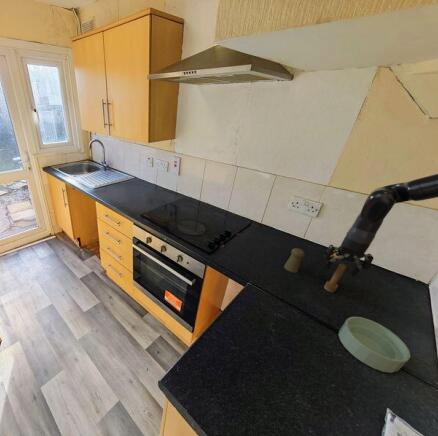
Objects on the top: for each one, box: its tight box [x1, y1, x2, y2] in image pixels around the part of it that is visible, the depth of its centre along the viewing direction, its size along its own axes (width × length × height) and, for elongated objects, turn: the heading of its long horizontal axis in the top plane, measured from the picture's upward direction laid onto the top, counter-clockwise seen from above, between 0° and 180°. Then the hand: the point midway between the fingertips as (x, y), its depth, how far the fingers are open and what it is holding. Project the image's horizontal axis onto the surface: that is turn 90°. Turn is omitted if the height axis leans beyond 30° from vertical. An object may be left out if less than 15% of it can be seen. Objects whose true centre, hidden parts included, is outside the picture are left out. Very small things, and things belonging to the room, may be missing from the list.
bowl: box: [338, 316, 411, 374], centre depth 72 cm, size 15×15×6 cm
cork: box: [283, 247, 306, 274], centre depth 107 cm, size 6×6×11 cm
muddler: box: [323, 263, 347, 293], centre depth 95 cm, size 4×4×13 cm
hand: (339, 271), depth 94 cm, fingers open, 8 cm apart
